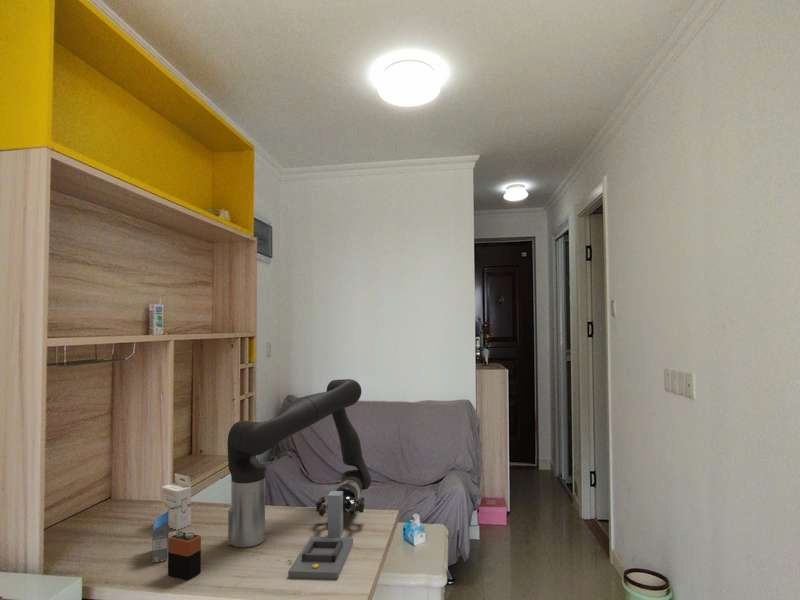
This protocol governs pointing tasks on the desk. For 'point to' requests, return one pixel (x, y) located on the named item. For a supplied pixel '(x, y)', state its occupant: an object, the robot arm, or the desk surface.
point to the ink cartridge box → (177, 502)
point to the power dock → (321, 558)
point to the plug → (335, 514)
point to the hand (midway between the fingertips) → (336, 513)
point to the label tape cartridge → (160, 537)
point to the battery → (184, 555)
